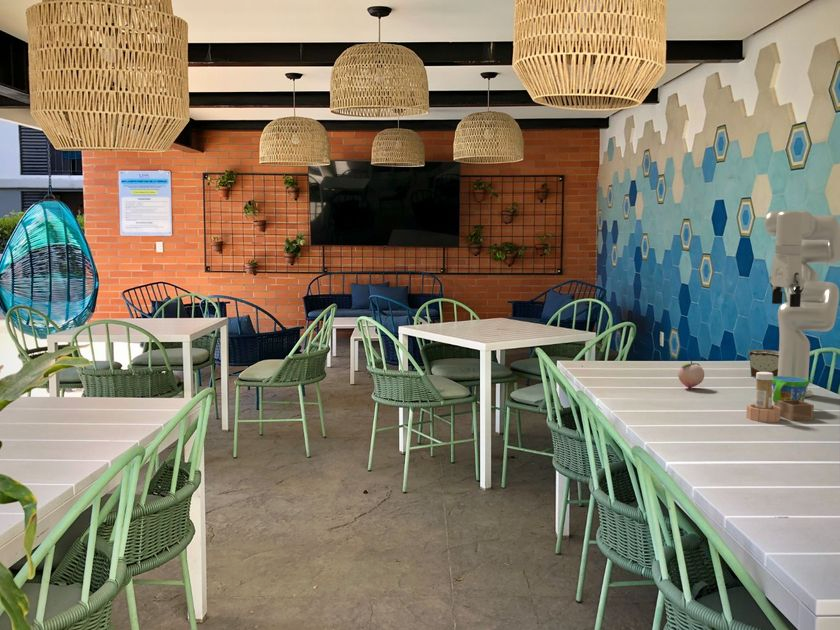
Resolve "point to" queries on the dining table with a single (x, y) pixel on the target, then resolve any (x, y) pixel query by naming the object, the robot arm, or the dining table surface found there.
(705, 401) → the dining table surface
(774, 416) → the pot
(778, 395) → the snack cup
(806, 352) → the robot arm
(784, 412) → the walnut box
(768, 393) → the sprinkles bottle
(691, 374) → the decorative fruit
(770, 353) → the food container
